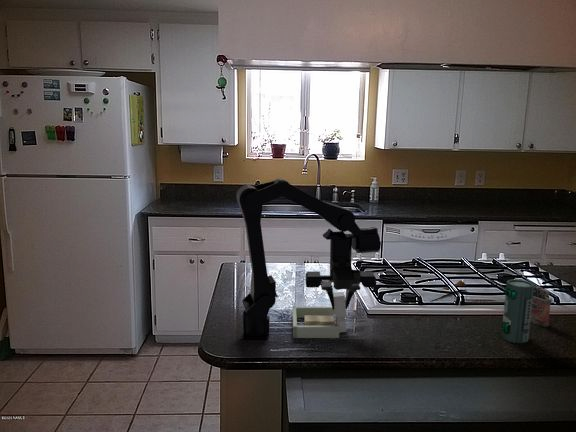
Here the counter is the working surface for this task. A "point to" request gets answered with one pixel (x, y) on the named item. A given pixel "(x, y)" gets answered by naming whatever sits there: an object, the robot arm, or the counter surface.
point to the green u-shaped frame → (313, 330)
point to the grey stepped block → (340, 310)
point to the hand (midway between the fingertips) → (339, 309)
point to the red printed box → (540, 307)
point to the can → (517, 311)
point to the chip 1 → (311, 320)
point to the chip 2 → (327, 321)
